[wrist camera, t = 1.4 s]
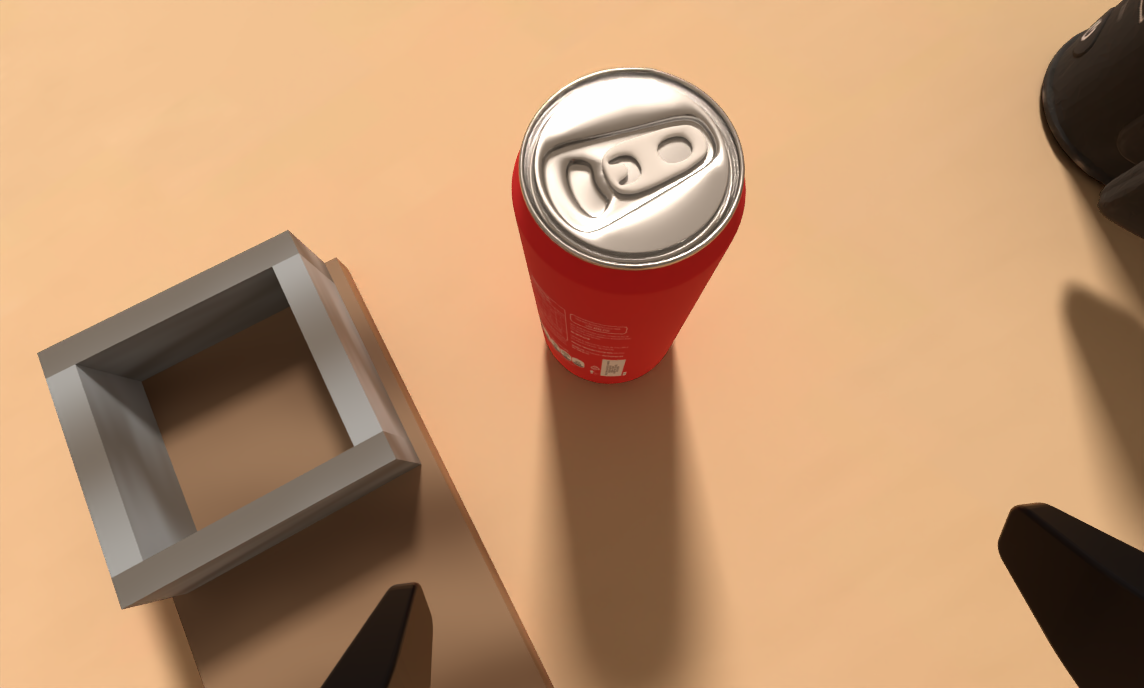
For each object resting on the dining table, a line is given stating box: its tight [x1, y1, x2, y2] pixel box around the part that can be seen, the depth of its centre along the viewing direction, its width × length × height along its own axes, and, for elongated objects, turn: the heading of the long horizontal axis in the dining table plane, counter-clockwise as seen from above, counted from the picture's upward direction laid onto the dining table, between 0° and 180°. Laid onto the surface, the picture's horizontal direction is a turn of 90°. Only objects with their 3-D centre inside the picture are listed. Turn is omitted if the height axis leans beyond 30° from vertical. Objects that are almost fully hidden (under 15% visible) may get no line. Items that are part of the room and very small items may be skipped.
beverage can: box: [512, 68, 746, 384], centre depth 18 cm, size 5×5×12 cm
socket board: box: [37, 230, 554, 688], centre depth 20 cm, size 21×10×4 cm, turn 29°
